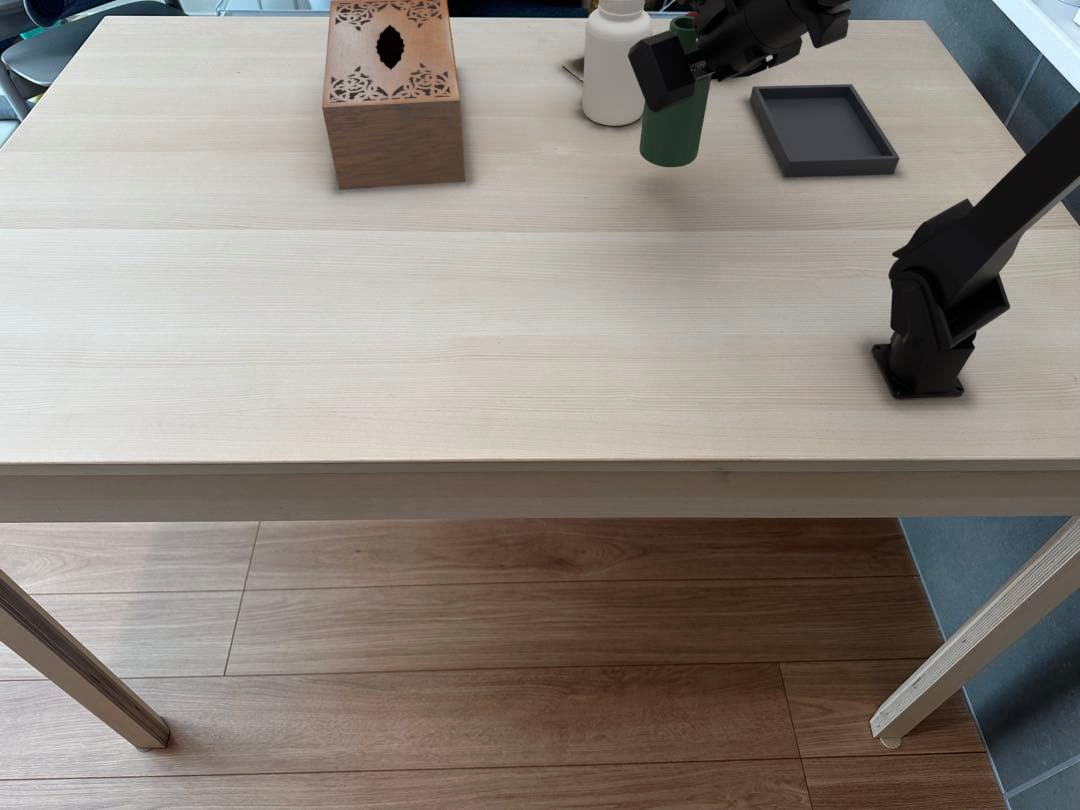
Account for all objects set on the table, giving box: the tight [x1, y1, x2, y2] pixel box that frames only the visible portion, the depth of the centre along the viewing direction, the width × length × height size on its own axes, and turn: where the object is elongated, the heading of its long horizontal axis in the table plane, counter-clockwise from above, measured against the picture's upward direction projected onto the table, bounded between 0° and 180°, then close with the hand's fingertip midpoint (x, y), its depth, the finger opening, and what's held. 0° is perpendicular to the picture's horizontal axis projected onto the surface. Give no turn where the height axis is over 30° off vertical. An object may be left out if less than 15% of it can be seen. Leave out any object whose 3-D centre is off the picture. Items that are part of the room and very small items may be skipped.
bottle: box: [639, 15, 712, 168], centre depth 83 cm, size 6×6×14 cm
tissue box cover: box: [321, 0, 467, 190], centre depth 96 cm, size 26×14×10 cm, turn 8°
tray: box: [749, 83, 901, 178], centre depth 99 cm, size 17×13×2 cm
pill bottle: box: [581, 0, 654, 127], centre depth 97 cm, size 8×8×15 cm
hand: (669, 84), depth 83 cm, fingers closed on bottle, 6 cm apart
